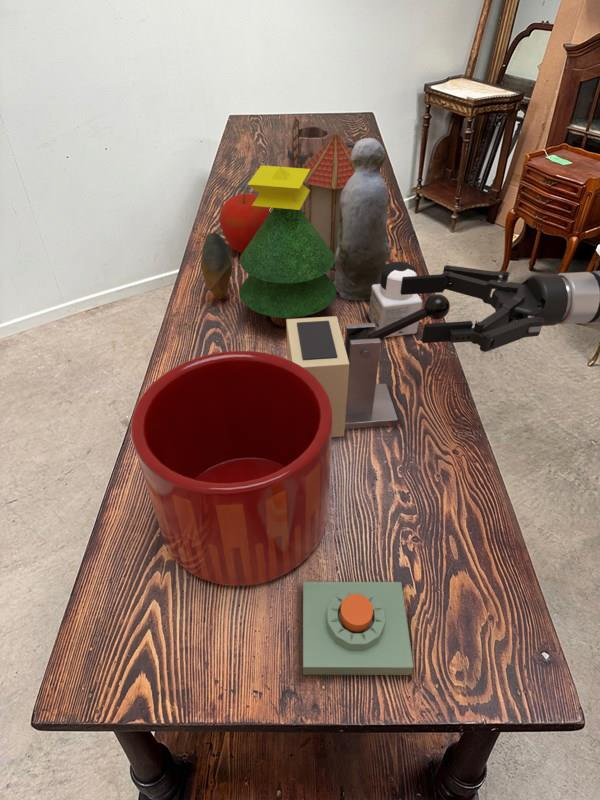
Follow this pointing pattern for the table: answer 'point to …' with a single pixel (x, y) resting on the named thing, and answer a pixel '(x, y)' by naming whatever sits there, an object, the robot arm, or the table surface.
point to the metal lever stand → (366, 383)
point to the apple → (241, 220)
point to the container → (393, 299)
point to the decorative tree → (285, 251)
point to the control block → (355, 651)
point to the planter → (236, 464)
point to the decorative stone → (216, 265)
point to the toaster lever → (411, 318)
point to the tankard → (309, 145)
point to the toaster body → (322, 360)
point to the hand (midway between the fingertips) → (411, 308)
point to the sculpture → (362, 224)
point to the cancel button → (356, 613)
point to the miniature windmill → (325, 184)
